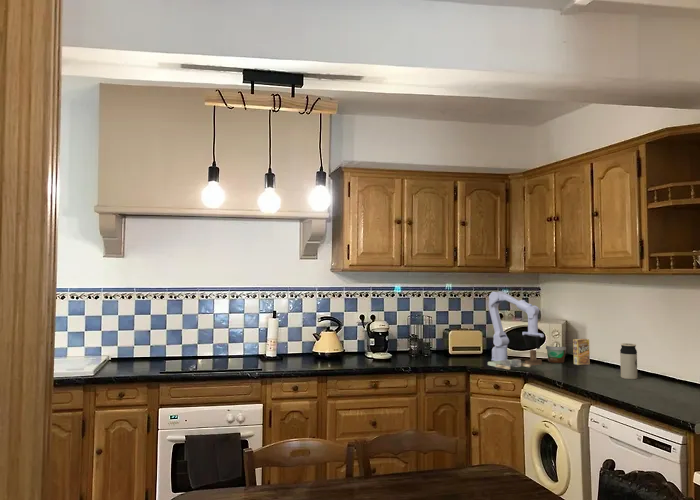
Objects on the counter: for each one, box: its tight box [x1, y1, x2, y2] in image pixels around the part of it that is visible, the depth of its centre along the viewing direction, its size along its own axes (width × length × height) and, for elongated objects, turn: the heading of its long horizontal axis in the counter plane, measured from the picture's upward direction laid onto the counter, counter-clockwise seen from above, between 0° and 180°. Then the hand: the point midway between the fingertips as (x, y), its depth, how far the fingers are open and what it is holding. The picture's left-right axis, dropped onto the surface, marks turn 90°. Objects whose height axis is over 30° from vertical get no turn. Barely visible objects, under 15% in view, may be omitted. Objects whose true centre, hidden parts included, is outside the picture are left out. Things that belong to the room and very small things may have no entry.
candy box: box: [572, 338, 591, 366], centre depth 343 cm, size 9×4×15 cm, turn 108°
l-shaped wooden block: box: [524, 349, 543, 367], centre depth 342 cm, size 2×12×9 cm, turn 118°
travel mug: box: [619, 342, 638, 380], centre depth 300 cm, size 8×8×18 cm
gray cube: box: [510, 358, 522, 368], centre depth 337 cm, size 4×4×4 cm
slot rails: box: [495, 362, 531, 370], centre depth 335 cm, size 11×17×2 cm, turn 118°
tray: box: [487, 359, 512, 368], centre depth 343 cm, size 7×17×2 cm, turn 118°
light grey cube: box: [500, 359, 512, 368], centre depth 335 cm, size 4×4×4 cm
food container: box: [545, 345, 567, 364], centre depth 351 cm, size 12×6×10 cm, turn 62°
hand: (533, 348), depth 341 cm, fingers open, 7 cm apart
